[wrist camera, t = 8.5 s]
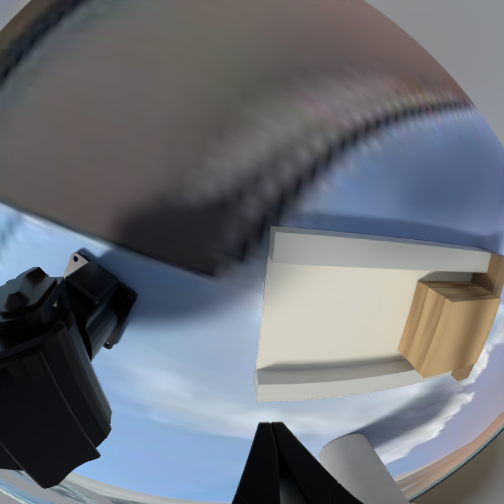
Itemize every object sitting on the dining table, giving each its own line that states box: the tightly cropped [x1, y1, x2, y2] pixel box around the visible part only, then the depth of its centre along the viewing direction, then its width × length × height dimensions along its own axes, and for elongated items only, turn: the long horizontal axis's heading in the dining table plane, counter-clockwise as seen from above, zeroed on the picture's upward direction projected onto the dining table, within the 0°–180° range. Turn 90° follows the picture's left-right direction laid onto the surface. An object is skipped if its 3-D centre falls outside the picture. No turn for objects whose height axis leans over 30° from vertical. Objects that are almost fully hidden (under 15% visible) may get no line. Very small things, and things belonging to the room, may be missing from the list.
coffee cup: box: [319, 434, 414, 504], centre depth 20 cm, size 10×10×15 cm
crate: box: [398, 281, 501, 378], centre depth 20 cm, size 8×7×5 cm
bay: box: [254, 226, 504, 402], centre depth 20 cm, size 24×14×4 cm, turn 85°
